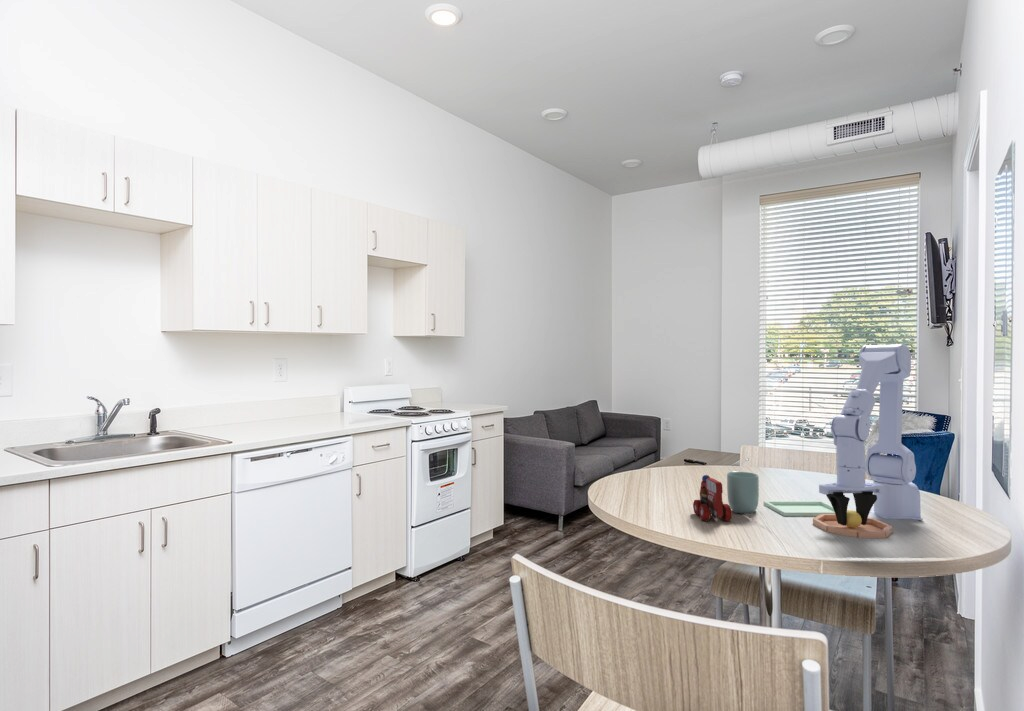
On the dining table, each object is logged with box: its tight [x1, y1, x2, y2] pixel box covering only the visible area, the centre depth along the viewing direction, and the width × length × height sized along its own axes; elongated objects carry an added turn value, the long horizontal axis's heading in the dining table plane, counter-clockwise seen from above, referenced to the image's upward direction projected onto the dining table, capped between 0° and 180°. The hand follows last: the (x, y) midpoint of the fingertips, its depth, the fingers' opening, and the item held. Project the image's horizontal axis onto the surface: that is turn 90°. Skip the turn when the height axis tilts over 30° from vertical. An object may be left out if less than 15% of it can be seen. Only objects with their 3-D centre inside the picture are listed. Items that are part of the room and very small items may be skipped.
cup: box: [726, 471, 760, 515], centre depth 146 cm, size 8×8×10 cm
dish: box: [812, 514, 894, 539], centre depth 130 cm, size 15×15×2 cm
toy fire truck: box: [692, 474, 733, 522], centre depth 141 cm, size 7×12×10 cm, turn 0°
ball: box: [846, 509, 862, 528], centre depth 130 cm, size 4×4×4 cm
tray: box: [763, 500, 835, 517], centre depth 146 cm, size 16×12×2 cm
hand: (851, 524), depth 130 cm, fingers open, 4 cm apart
